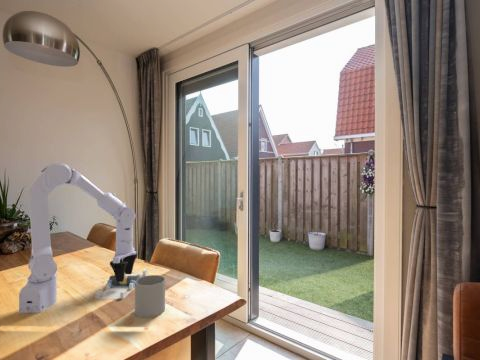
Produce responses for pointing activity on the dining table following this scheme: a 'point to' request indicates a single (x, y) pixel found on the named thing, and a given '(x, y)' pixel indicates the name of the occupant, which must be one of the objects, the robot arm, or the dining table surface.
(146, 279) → the cup
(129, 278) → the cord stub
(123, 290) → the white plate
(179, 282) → the dining table surface
